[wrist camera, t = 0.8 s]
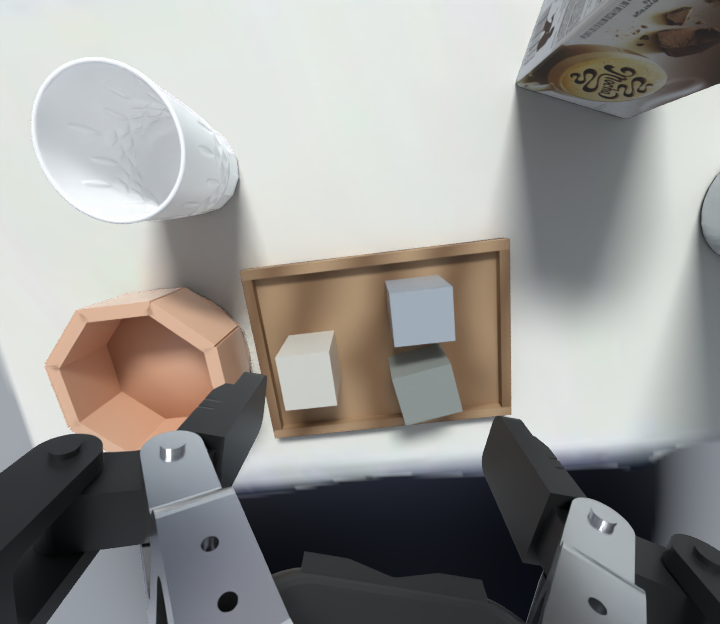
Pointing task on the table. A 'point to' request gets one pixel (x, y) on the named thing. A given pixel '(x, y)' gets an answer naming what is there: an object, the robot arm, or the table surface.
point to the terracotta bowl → (143, 364)
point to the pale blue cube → (420, 310)
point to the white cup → (127, 146)
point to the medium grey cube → (424, 384)
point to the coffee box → (623, 52)
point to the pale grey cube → (309, 370)
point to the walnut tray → (384, 330)
